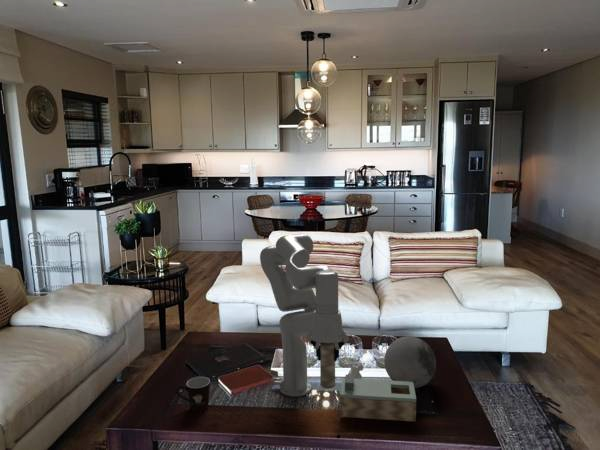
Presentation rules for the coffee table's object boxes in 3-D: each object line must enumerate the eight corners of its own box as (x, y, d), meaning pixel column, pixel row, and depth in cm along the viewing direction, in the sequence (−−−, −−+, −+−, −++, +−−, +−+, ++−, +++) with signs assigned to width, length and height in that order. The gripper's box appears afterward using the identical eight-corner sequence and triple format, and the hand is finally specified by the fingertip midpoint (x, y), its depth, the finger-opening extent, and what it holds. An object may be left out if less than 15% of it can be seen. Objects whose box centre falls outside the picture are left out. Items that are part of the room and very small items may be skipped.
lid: (340, 397, 167) (340, 386, 166) (342, 381, 178) (342, 370, 178) (416, 402, 163) (416, 390, 162) (413, 384, 174) (413, 374, 174)
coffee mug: (215, 403, 180) (214, 378, 178) (203, 415, 172) (202, 389, 170) (188, 398, 184) (187, 374, 182) (176, 410, 176) (174, 384, 174)
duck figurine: (353, 399, 185) (371, 378, 183) (338, 387, 185) (355, 366, 183) (354, 384, 197) (371, 364, 194) (340, 372, 197) (356, 353, 195)
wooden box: (340, 419, 168) (340, 398, 167) (342, 401, 180) (342, 381, 178) (415, 424, 164) (416, 402, 163) (412, 405, 176) (413, 385, 175)
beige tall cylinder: (319, 388, 160) (319, 345, 157) (321, 380, 165) (320, 339, 162) (334, 388, 159) (334, 346, 157) (335, 381, 164) (335, 340, 162)
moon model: (390, 399, 180) (390, 349, 177) (379, 374, 200) (380, 329, 197) (442, 397, 181) (443, 348, 178) (426, 373, 201) (427, 328, 197)
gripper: (300, 310, 155) (301, 363, 158) (352, 312, 153) (352, 365, 156) (303, 303, 163) (304, 353, 165) (353, 304, 160) (353, 355, 163)
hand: (327, 358), depth 161 cm, fingers closed on beige tall cylinder, 4 cm apart
